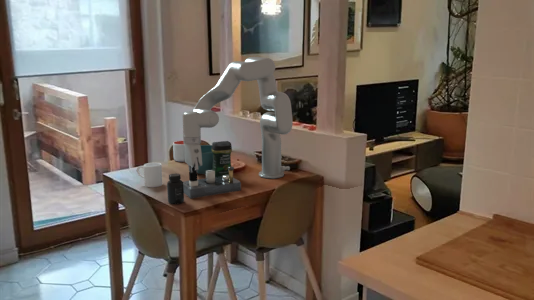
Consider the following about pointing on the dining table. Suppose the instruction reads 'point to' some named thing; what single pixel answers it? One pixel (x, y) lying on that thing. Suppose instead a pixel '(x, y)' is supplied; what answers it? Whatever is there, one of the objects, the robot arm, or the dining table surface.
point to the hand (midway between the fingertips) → (193, 180)
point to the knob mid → (210, 176)
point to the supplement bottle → (175, 189)
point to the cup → (179, 151)
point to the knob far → (193, 183)
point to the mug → (151, 174)
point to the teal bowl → (206, 159)
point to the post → (230, 174)
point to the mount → (211, 187)
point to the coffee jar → (221, 157)
